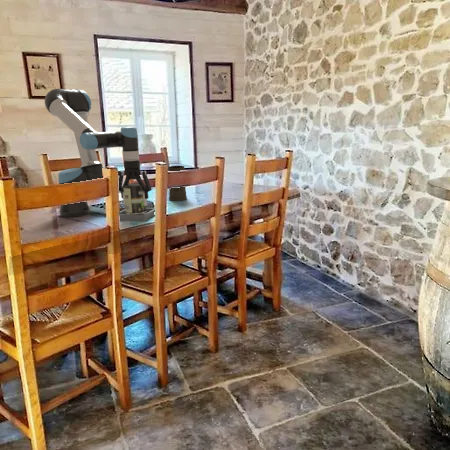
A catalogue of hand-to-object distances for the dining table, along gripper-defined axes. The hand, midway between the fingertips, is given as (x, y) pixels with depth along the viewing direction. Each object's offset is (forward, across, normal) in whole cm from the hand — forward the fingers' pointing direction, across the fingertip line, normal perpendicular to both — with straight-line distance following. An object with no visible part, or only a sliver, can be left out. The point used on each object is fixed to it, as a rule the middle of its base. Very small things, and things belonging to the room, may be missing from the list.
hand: (135, 205), depth 194 cm
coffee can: (+4, 0, 0) cm, 4 cm away
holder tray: (+6, 0, 0) cm, 6 cm away
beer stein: (+6, -6, -46) cm, 47 cm away
